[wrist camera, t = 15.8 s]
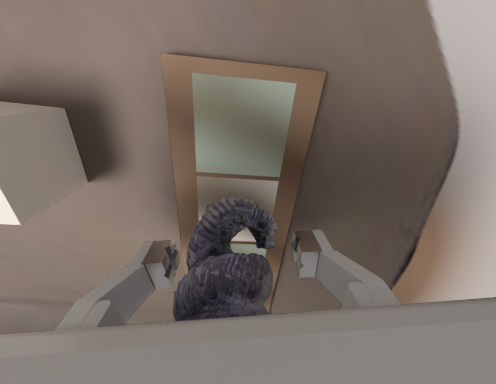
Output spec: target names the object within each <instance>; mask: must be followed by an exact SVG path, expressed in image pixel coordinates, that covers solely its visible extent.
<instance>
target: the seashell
mask: <svg viewBox="0 0 496 384" xmlns="http://www.w3.org/2000/svg"><path fill="white" fill-rule="evenodd" d="M245 228H248V229H249V231H250V232H251V233H252V235H253V237H254V239H255V241H256V247H257V248H258V249H260V248H264V249H266V250H267V249H274V248H275V247H276V246H275V243H274V235H275V233H276V231H277V224H276V222H275V220H274V218H273V217H272V216H271V215H270V214H269V213H268V212H267V211H266V210H265V209H264V208H262V207H261V205H260V204H258V203H257V202H254V201H252V200H249V199H246V198H242V197H238V198H235V197H224V198H223V199H218V200H217V201H216V202H214V203H210V205H207V207H206V210H205V213H204V214H203V215H202V217H201V220H200V221H198V223H197V225H196V226H195V227H194V230H193V233H192V235H191V239H190V240H189V245H188V247H187V250H188V252H187V260H186V264H187V266H188V273H187V274H186V275H185V276H184V277H183V279H182V280H181V281H180V282H179V284H178V288H177V290H176V291H175V292H174V305H173V314H174V318H175V321H187V320H201V319H214V318H228V317H242V316H255V315H268V314H270V313H269V312H268V311H267V309H266V308H265V306H264V303H265V302H266V300H267V299H268V297H269V295H270V292H271V289H272V281H273V280H274V279H273V272H272V269H271V267H270V263H269V262H268V260H267V259H266V258H265V257H264V256H263V255H258V254H256V253H250V254H249V255H248V254H244V253H234V252H233V251H232V250H231V246H230V242H231V240H232V238H234V237H235V236H236V235H237V234H238V233H239V232H240V231H242V230H243V229H245Z"/></svg>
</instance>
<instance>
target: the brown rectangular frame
mask: <svg viewBox="0 0 496 384" xmlns="http://www.w3.org/2000/svg"><path fill="white" fill-rule="evenodd" d="M161 61H162V70H163V80H164V89H165V98H166V108H167V117H168V126H169V136H170V145H171V154H172V164H173V173H174V183H175V192H176V201H177V211H178V220H179V229H180V239H181V248H182V257H183V267H184V276H185V275H186V274H187V273H188V266H187V264H186V260H187V252H188V250H187V247H188V245H189V240H190V239H191V235H192V233H193V230H194V227H195V226H196V225H197V223H198V221H200V220H201V217H202V215H203V214H204V213H205V210H206V207H207V205H210V203H214V202H216V201H217V200H218V199H223V198H224V197H235V198H238V197H242V198H246V199H249V200H252V201H254V202H257V203H258V204H260V205H261V207H262V208H264V209H265V210H266V211H267V212H268V213H269V214H270V215H271V216H272V217H273V218H274V220H275V222H276V224H277V231H276V233H275V235H274V243H275V246H276V247H275V248H274V249H267V250H266V249H264V248H260V249H258V248H257V247H256V241H255V239H254V237H253V235H252V233H251V232H250V231H249V229H248V228H245V229H243V230H242V231H240V232H239V233H238V234H237V235H236V236H235V237H234V238H232V240H231V242H230V246H231V250H232V251H233V252H234V253H244V254H248V255H249V254H250V253H256V254H258V255H263V256H264V257H265V258H266V259H267V260H268V262H269V263H270V267H271V269H272V272H273V279H274V280H273V281H272V289H271V292H270V295H269V297H268V299H267V300H266V302H265V303H264V306H265V308H266V309H267V311H268V312H269V309H270V305H271V300H272V296H273V292H274V288H275V284H276V280H277V275H278V271H279V267H280V263H281V259H282V255H283V251H284V246H285V242H286V238H287V234H288V230H289V226H290V222H291V217H292V213H293V209H294V205H295V201H296V197H297V192H298V188H299V184H300V180H301V176H302V172H303V168H304V163H305V159H306V155H307V151H308V147H309V143H310V138H311V134H312V130H313V126H314V122H315V118H316V114H317V109H318V105H319V101H320V97H321V93H322V89H323V84H324V80H325V76H326V72H327V71H319V70H310V69H301V68H292V67H283V66H274V65H264V64H255V63H246V62H237V61H228V60H219V59H210V58H200V57H191V56H182V55H173V54H164V53H161Z"/></svg>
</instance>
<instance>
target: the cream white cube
mask: <svg viewBox="0 0 496 384" xmlns="http://www.w3.org/2000/svg"><path fill="white" fill-rule="evenodd" d="M86 183H88V181H87V177H86V174H85V171H84V168H83V165H82V162H81V159H80V155H79V152H78V149H77V146H76V143H75V140H74V137H73V133H72V130H71V127H70V124H69V121H68V118H67V115H66V111H65V108H58V107H49V106H40V105H30V104H21V103H12V102H3V101H0V224H11V225H22V224H23V223H25V222H27V221H28V220H30V219H31V218H33V217H34V216H36V215H38V214H39V213H41V212H42V211H44V210H46V209H47V208H49V207H50V206H52V205H53V204H55V203H57V202H58V201H60V200H61V199H63V198H64V197H66V196H68V195H69V194H71V193H72V192H74V191H75V190H77V189H79V188H80V187H82V186H83V185H85V184H86Z"/></svg>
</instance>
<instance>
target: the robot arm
mask: <svg viewBox="0 0 496 384" xmlns="http://www.w3.org/2000/svg"><path fill="white" fill-rule="evenodd" d="M292 239H293V242H292V243H291V250H292V256H293V260H294V261H295V262H296V269H297V272H298V275H299V278H306V277H316V279H317V280H318V281H319V282H320V283H321V284H322V285H323V286H324V287H325V288H326V289H328V290H329V291H330V292H331V293H332V294H333V295H334V296H335V297H336V298H337V299H338V300H339V301H340V302H341V303H342V307H341V309H334V310H321V311H307V312H294V313H281V314H268V315H255V316H242V317H228V318H214V319H201V320H187V321H174V322H160V323H147V324H134V325H126V324H125V322H126V321H127V320H128V318H129V317H130V316H131V315H132V314H133V313H134V312H135V311H136V310H137V309H138V308H139V306H140V305H141V304H142V303H143V302H144V301H145V300H146V299H147V298H148V297H149V296H150V295H151V293H152V292H153V291H154V290H155V289H158V288H168V287H172V284H173V281H174V278H175V274H174V272H175V271H176V270H177V269H178V266H179V260H180V257H179V252H178V251H177V250H176V249H175V247H176V243H175V241H174V240H161V241H146V242H144V243H143V245H142V246H141V248H140V249H139V251H138V253H137V254H136V256H135V258H134V259H133V261H132V262H131V264H130V265H128V266H125V267H124V268H123V269H121V270H120V271H118V272H117V273H116V274H114V275H113V276H111V277H110V278H109V279H107V280H106V281H104V282H103V283H102V284H100V285H99V286H97V287H96V288H94V289H93V290H92V291H90V292H89V293H87V294H86V295H85V296H83V297H82V298H80V299H79V300H78V301H76V302H75V304H74V305H73V306H72V308H71V309H70V310H69V312H68V313H67V314H66V315H65V317H64V318H63V319H62V321H61V322H60V323H59V325H58V326H57V327H56V329H55V330H53V331H40V332H26V333H13V334H0V384H496V297H494V298H482V299H468V300H455V301H443V302H428V303H415V304H401V303H400V302H399V301H398V299H397V298H396V297H395V295H394V294H393V293H392V291H391V290H390V289H389V287H388V286H387V285H386V283H385V282H384V281H383V279H381V278H380V277H378V276H376V275H375V274H373V273H372V272H370V271H368V270H367V269H365V268H364V267H362V266H360V265H359V264H357V263H356V262H354V261H352V260H351V259H349V258H348V257H346V256H344V255H343V254H341V253H340V252H338V251H334V250H333V249H332V247H331V245H330V244H329V242H328V240H327V239H326V237H325V235H324V233H323V232H322V230H321V229H316V230H306V231H293V233H292Z"/></svg>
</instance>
